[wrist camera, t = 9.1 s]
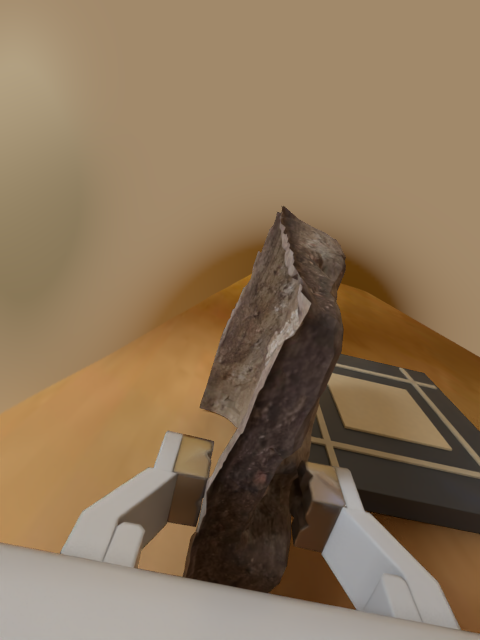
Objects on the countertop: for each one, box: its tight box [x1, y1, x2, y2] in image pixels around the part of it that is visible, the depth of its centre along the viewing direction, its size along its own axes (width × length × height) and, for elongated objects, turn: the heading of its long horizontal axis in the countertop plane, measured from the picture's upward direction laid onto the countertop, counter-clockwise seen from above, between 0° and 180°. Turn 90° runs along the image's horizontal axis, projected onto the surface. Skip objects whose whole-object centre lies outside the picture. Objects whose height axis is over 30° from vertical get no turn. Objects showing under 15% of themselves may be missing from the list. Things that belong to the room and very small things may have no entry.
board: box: [308, 354, 480, 534], centre depth 30 cm, size 18×20×2 cm
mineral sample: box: [183, 206, 346, 593], centre depth 16 cm, size 17×4×15 cm, turn 177°
